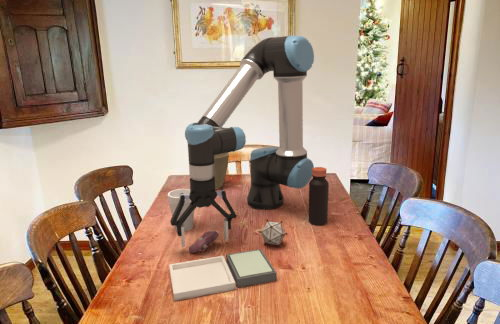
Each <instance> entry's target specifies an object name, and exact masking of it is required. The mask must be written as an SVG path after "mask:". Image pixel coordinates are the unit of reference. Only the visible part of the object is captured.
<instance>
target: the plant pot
mask: <svg viewBox="0 0 500 324" xmlns="http://www.w3.org/2000/svg"><path fill="white" fill-rule="evenodd" d="M229 157H230V152H228V153H223V154H218V155H214V169H215V175H214V176H213V177H214V178H215V190H217V189H221V188H222V187H223V186H224V182H225V180H226V175H227V172H228V165H229Z"/></svg>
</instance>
